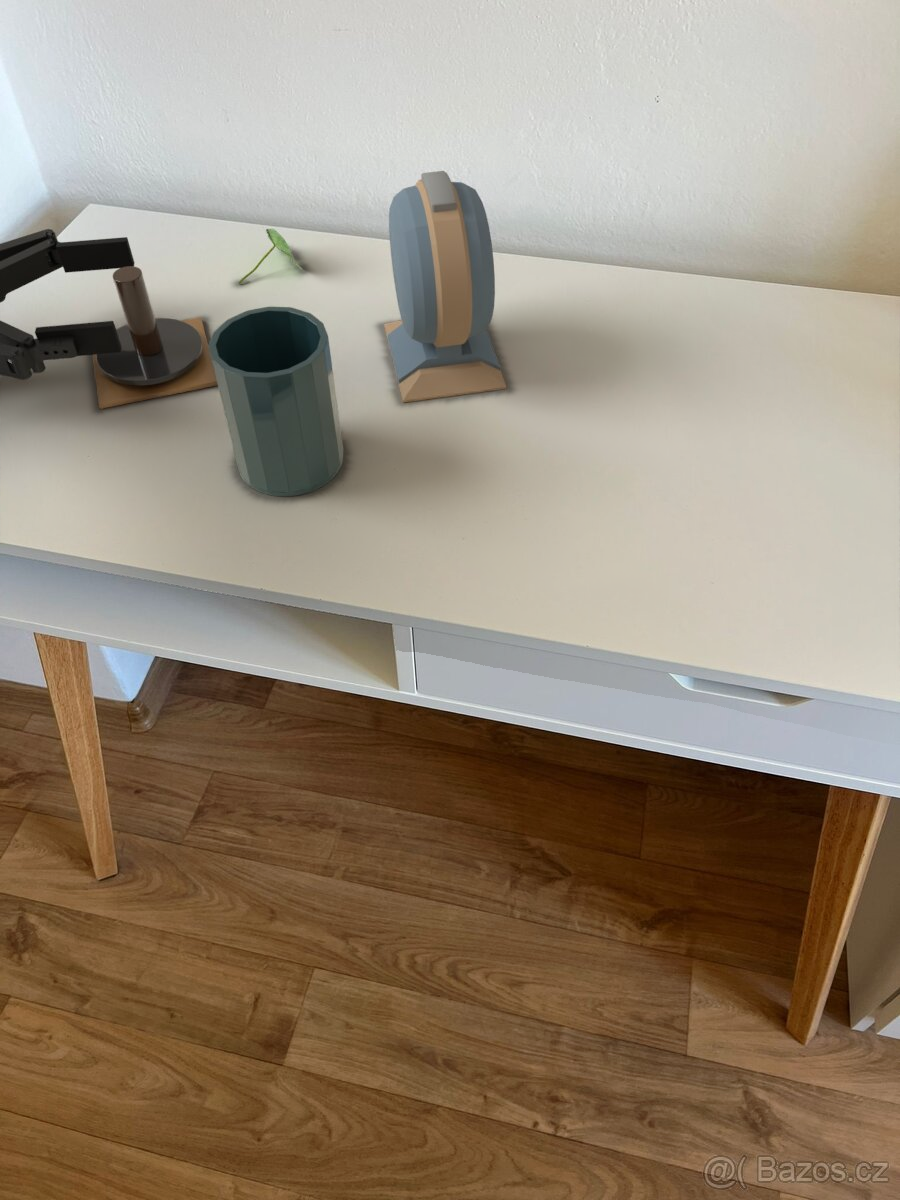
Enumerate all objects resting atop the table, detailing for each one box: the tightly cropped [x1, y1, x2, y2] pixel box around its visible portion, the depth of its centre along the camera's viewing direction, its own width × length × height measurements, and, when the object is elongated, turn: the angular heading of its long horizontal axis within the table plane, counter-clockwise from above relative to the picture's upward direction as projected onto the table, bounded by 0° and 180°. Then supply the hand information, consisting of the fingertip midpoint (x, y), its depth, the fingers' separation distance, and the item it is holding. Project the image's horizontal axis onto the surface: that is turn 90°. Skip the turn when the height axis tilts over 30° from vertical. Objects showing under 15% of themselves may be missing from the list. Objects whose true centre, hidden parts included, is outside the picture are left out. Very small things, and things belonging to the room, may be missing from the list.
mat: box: [92, 316, 218, 410], centre depth 97 cm, size 11×11×1 cm
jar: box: [208, 306, 344, 497], centre depth 83 cm, size 9×9×12 cm
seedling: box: [238, 217, 303, 285], centre depth 106 cm, size 7×8×7 cm
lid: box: [96, 265, 203, 386], centre depth 94 cm, size 10×10×9 cm
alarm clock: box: [383, 170, 507, 403], centre depth 91 cm, size 14×10×18 cm
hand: (124, 292), depth 91 cm, fingers open, 13 cm apart
